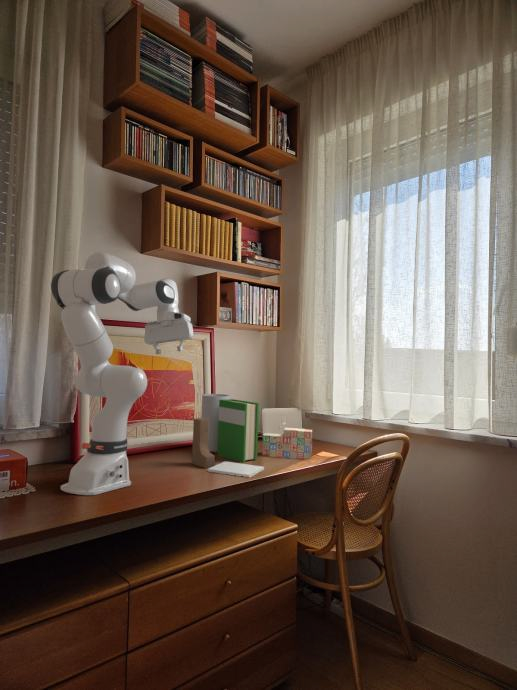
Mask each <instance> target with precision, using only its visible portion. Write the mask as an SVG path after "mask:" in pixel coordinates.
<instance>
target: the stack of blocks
mask: <svg viewBox="0 0 517 690" xmlns="http://www.w3.org/2000/svg"><path fill="white" fill-rule="evenodd" d="M312 448H313V429H308V428H307V429H306V428H302V427H301V428H296V427H295V428H294V427H284V429H283V433H271V432H265V433H264V434H263V435H262V453H261V454H262V457H270V458H273V457H274V458H282V459H283V458H284V459H297V460H307V459H312Z"/></svg>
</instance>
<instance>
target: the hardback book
mask: <svg viewBox="0 0 517 690" xmlns="http://www.w3.org/2000/svg"><path fill="white" fill-rule="evenodd" d="M259 406H260V403H259V402H253V401H246V400H240V399H236V398H229V399H225V400H219V425H218V451H217V452H216V453H217V456H220V457H223V458H226V459H230V460H234V461H237V462H240V463H242V464H245V463H246V461H248V460H249V461H251V460H252V461H253V462H254V461H255V462H256V461H257V460H258V436H259V435H258V433H259V413H260V412H259V409H260V407H259ZM244 462H245V463H244ZM257 462H258V461H257Z"/></svg>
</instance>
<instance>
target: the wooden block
mask: <svg viewBox="0 0 517 690" xmlns="http://www.w3.org/2000/svg"><path fill="white" fill-rule="evenodd" d="M192 429H193V431H192V433H193V434H192V452H191V453H192V454H191V455H192V456H191V464H192V465H194V466H197V467H200V468H203V469H209V468H211V467H213V466H215V460H216V459H215V457H216V456H215V455H214V454H212V452H210V451H209V449H208V430H209V420H208V419H204V418H200V417H199V418H194V419H193V427H192Z"/></svg>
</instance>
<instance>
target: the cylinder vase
mask: <svg viewBox="0 0 517 690" xmlns="http://www.w3.org/2000/svg"><path fill="white" fill-rule="evenodd" d="M225 399H230V395H229V394H224V393H223V394H222V393H205V394H202V395H201V416H200V417H201V418H204V419H208V420H209V430H208V449H209V451H210V453H217V451H218V425H219V400H225Z"/></svg>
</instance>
